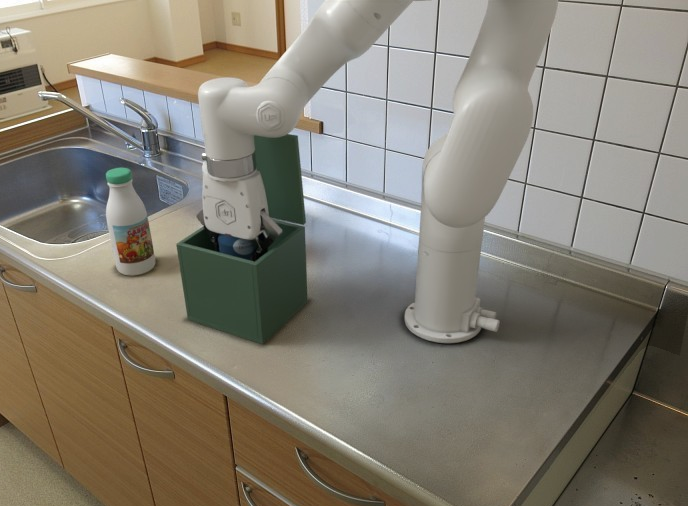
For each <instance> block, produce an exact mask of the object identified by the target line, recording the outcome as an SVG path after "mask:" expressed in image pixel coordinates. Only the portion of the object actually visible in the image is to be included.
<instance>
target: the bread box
mask: <svg viewBox="0 0 688 506" xmlns="http://www.w3.org/2000/svg"><path fill="white" fill-rule="evenodd" d="M271 219H272V220H273V221H274V222H275V223H276V224H277V225H278V226H279V227H280V228H281V229H282V233H281V235H280V236H279V237H278V238H277V239H276V241H274V242H273V243H272V244H271V245H270V246H269V247H268V252H267V253H265V254H264V255H263V256H262V257H260V258H259V259H258V260H257V261H255V262H254V261H250V260H246V259H242V258H239V257H235V256H231V255H227V254H223V253H219V252H216V251H215V247H214V242H212V241H211V240H210V235H209V234H208V233H207V232H206V231H205V229H204V227H203V226H201V227H199V228H198V229H197V230H195V231H194V232H192V233H191V234H189V235H188V236H186V237H185V238H183V239H181V240H180V241H178V242H177V243H175V244H176V252H177V258H178V259H177V260H178V264H179V272H180V277H181V283H182V284H181V285H182V290H183V291H182V292H183V298H184V304H185V308H186V309H185V311H186V316H187V317H186V318H187V320H188V321H190V322H193V323H195V324H198V325H202V326H205V327H208V328H211V329H214V330H216V331H217V330H218V331H220V332H223V333H226V334H229V335H233V336H236V337H238V338H242V339H245V340H248V341H251V342H254V343H257V344H260V345H264V344H265V343H266V342H267V341H269V339H270V338H271V337H272V336H274V335H275V334H276V332H278V331H279V330H280V329H281V328H282V327H283V326H284V325H285V324H286V323H287V322H288V321H289V320H290V319H292V317H293V316H295V315H296V314H297V313H298V312H299V311H300V310H301V309H302V308H303V307H304V306H305V305H306V304H307V303H308V302H309V301H308V297H309V296H308V276H307V275H308V274H307V273H308V272H307V248H306V247H307V245H306V226H304V225H301V224H296V223H292V222H287V221H283V220H278V219H274V218H271ZM265 232H266V234H267V236H268V235H269V231H268V230H267V229H266V230H265ZM261 242H262V241H261Z"/></svg>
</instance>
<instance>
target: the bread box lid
mask: <svg viewBox="0 0 688 506" xmlns="http://www.w3.org/2000/svg"><path fill="white" fill-rule="evenodd" d="M254 144H255V155H256V166H257V171H260V174H261V177H262V181H263V184H264V188H265V193H266V198H267V205H268V212H269V217H270V218H271V219H273V220H278V221H282V222H287V223H291V224H296V225H300V226H304V225H306V224H307V217H306V208H305V197H304V196H305V195H304V187H303V176H302V167H301V166H302V165H301V156H300V155H301V154H300V144H299V135H296V134H290V133H288V134H287V135H285V136H282V137H277V138H269V137H262V136H256V135H254Z"/></svg>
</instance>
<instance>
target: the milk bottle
mask: <svg viewBox="0 0 688 506" xmlns="http://www.w3.org/2000/svg"><path fill="white" fill-rule="evenodd" d="M105 179H106V182H107V186H108V187H109V193H108V199H107V202H106V208H105V217H106V218H105V219H106V225H107V230H108V235H109V240H110V245H111V249H112V254H113V259H114V264H115V268H116V270H117V272H119V273H120V274H121V275H124V276H125V275H126V276H139V275H142V274H145V273H149V272H150V271H151V270H153V268H154V267H155V266H156V256H155V250H154V246H153V239H152V233H151V228H150V227H151V226H150V222H149V217H148V213H147V209H146V206H145V204H144V202H143V201H142V199H141V197H140V196H139V194H138V193H137V191H136V190H135V188H134V186H133V182H134V180H133V173H132V170H131V169H130V168H128V167H115V168H112V169H109V170H107V171H106V172H105Z"/></svg>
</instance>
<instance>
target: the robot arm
mask: <svg viewBox="0 0 688 506" xmlns="http://www.w3.org/2000/svg"><path fill="white" fill-rule="evenodd" d="M426 1H427V2H429V1H431V0H324V1H323V2H322V3H321V4H320V6H319V7H318V8H317V10H316V11H315V13H314V14H313V15H312V17H311V20H310V21H309V22H308V24H307V25H306V27H305V28H304V29H303V30H302V32H301V33H300V34H299V35H298V36H297V37H296V39H295V40H294V41H293V42H292V43H291V45H289V47H288V48H287V49H286V51H285V52H284V53H283V54H282V55H281V56H280V57H279V58H278V60H277V61H276V62H275V64H273V66H272V67H271V68H270V69H269V70H268V72H267V73H266V74H265V75H264V76H263V78H262V79H261V80H260V81H259V83H258V84H255V85H253V86H249V85H248V83H247V82H246V81H245V80H243V79H241V78H238V77H228V76H227V77H216V78H212V79H209V80H207V81H205V82H202V84H200V86H199V88H198V91H197V99H198V108H199V116H200V122H201V123H200V124H201V129H202V138H203V145H204V151H203V152H202V153H201V159H202V160H203V161H204V160H205V161H206V162H207V170H206V171H204V176H203V175H202V188H201V189H202V192H201V198H202V199H201V200H202V209H201V210H200V211H198V213H197V214H195V215H196V219H197V220H198V222H200V224H201V225H202V227H204V229H205V231H206V232H207V233H208V234H209V235H210V240H211V241H212V242H214V247H215V251H216V252H219V253H220V250H219V242H218V237H219V234H225V233H226V234H230V235H232V236H233V237H237V238H241V239H245V240H250V241H251V242H252V244H253V246H254V248H255V250H256V251H255V252H253V261H254V262H255V261H257V260H258V259H259V258H260V257H262V256H263V255H264V254H265V253H267V252H268V247H269V246H270V245H271V244H272V243H273V242H274V241H276V239H277V238H278V237H279V236H280V235H281V233H282V229H281V228H280V227H279V226H278V225H277V224H276V223H275V222H274V221H273V220H274V219H273V218H270V217H269V212H268V205H267V198H266V193H265V188H264V184H263V181H262V177H261V174H260V171H257V166H256V155H255V144H254V135H256V136H262V137H269V138H277V137H282V136H285V135H287V134H290V133H291V132H293V130H295V128H296V126H297V124H298V122H299V121H300V118H301V116H302V113H303V111H304V110H305V107H306V106H307V104H308V103H309V102H310V101H311V100H312V98H314V97H315V95H316V94H317V93H318V92H319V91H320V90H321V88H322V87H323V86H324V85H325V84H326V83H327V82H328V81H329V80H330V79H331V78H332V77H333V76H334V75H335V73H337V72H338V71H339V70H340V69H341V68H342V67H343V66H345V65H346V64H347V63H349V62H351V61H352V60H356V59H358V58H360V57H362V56H363V55H364V54H365V53H367V52H368V51H369V50H370V49H371V48H372V46H374V44H375V43H376V42H377V41H378V40H379V39H380V38H381V37H382V35H384V33H385V32H386V31H387V30H388V29H389V28H390V27H391V25H393V24H394V22H395V21H396V20H397V19H398V18H399V17H400V16H401V15H402V14H403V13H404V11H405V10H406V9H407V8H409V6H410V5H411V4H412V3H413V2H426ZM487 2H488V3H487V6H486V10H485V15H484V17H483V20H482V23H481V25H480V28H479V31H478V34H477V36H476V37H477V38H476V40H475V42H474V46H473V48H472V50H471V52H470V54H469V57H468V59H467V62H466V63H465V67H464V69H463V70H462V73H461V76H460V78H459V80H458V82H457V83H456V86H455V88H454V92H453V96H452V112H453V119H452V121H451V125H450V128H449V130H448V133H445V134H443V135H442V136H440V137H438V138H437V139H435V141H434V142H433V143H432V144H431V145H430V146H429V148H427V151H426V153H425V155H424V158H423V161H422V167H421V191H420V192H421V194H420V195H421V196H420V219H419V233H418V234H419V235H418V248H417V263H416V281H415V296H414V302H412V303H410V304H409V305H407V308H406V309H405V310H404V319H403V320H404V325H405V326H406V328H407V329H408V330H409V331H410V332H411V333H412V334H414V335H415V336H416V337H419V338H421V339H423V340H426V341H428V342H433V343H439V344H457V343H461V342H462V343H463V342H466V341H468V340H471V339H472V338H474V337H476V336H477V335H479V333H480V332H481V330H482V329H484V330H487V331H491V332H495V333H497V332H498V330H499V327H500V324H501V323H500V321H501V320H499V319H497V318H496V317H497V312H496V311H492V310H487V309H483V307H481V298H480V297H476V295H477V286H478V280H479V270H480V261H481V253H482V247H483V245H482V244H483V238H484V230H485V221H486V217H487V216H489V214H490V213H491V211H492V210H493V209H494V207H495V206H496V204H497V203H498V201H499V199H500V197H501V195H502V192H503V190H504V188H505V187H506V185H507V182H508V181H509V178H510V177H511V174H512V172H513V171H514V168H515V166H516V164H517V161H518V160H519V157H520V156H521V153H522V152H523V150H524V147H525V145H526V144H527V141H528V138H529V135H530V133H531V129H532V124H533V120H534V103H533V99H532V96H531V94H530V92H529V86H530V82H531V80H532V78H533V74H534V72H535V70H536V68H537V66H538V63H539V62H540V59H541V56H542V53H543V50H544V48H545V45H546V43H547V41H548V39H549V36H550V33H551V31H552V28H553V25H554V21H555V19H556V16H557V10H558V6H559V0H488V1H487ZM272 219H273V220H272ZM266 229H267V230H268V231H269V235H268V236H267V234H266V232H265V230H266ZM258 235H259V237H260V239H261V241H262V242H261V243H260V241H259V239H258V237H257V236H258Z"/></svg>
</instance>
